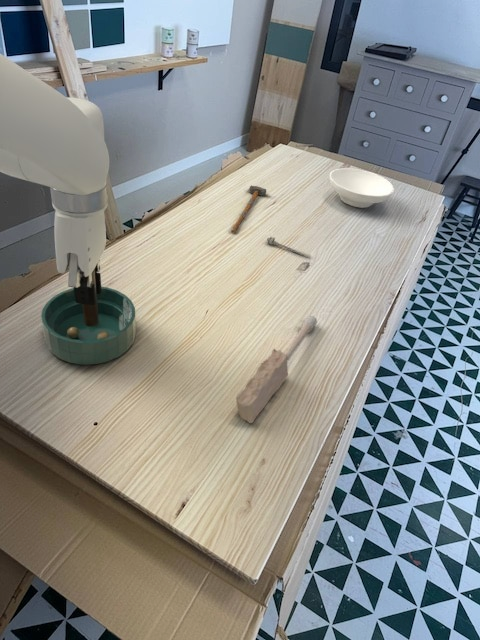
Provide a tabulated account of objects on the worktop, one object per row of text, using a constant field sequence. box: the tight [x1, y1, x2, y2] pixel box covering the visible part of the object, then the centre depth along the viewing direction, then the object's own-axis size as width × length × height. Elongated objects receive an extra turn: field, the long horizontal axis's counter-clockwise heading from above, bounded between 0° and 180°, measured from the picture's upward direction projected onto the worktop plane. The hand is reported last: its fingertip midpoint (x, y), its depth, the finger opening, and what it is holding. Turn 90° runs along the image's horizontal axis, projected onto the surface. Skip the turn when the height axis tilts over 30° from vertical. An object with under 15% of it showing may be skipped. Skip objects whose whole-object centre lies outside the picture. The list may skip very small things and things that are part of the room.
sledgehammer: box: [231, 185, 267, 234], centre depth 128 cm, size 27×2×5 cm
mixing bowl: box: [40, 286, 137, 365], centre depth 81 cm, size 15×15×6 cm
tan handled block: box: [236, 315, 318, 424], centre depth 82 cm, size 8×4×30 cm
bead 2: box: [97, 331, 109, 339], centre depth 81 cm, size 2×2×2 cm
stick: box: [79, 269, 99, 326], centre depth 77 cm, size 2×2×11 cm
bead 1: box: [67, 327, 79, 339], centre depth 81 cm, size 2×2×2 cm
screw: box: [266, 236, 309, 258], centre depth 115 cm, size 2×11×2 cm
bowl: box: [329, 167, 395, 209], centre depth 141 cm, size 20×20×7 cm
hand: (88, 296), depth 77 cm, fingers closed on stick, 2 cm apart
